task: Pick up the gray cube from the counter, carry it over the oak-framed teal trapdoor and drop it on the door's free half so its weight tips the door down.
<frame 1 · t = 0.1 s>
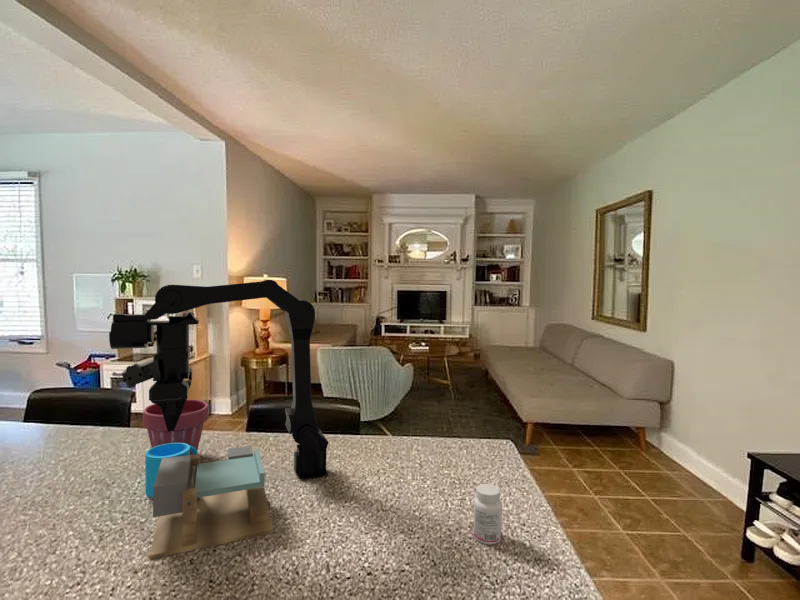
hand: (173, 423, 84), 15 cm above the countertop, fingers open, 9 cm apart
pill bottle: (487, 538, 72), on the countertop
gray cube: (240, 472, 95), on the countertop
mug: (175, 485, 89), on the countertop
trapdoor: (211, 477, 76), point 8 cm above the countertop, hinge at 0.0°
plant pot: (176, 458, 102), on the countertop
frame: (192, 521, 75), on the countertop
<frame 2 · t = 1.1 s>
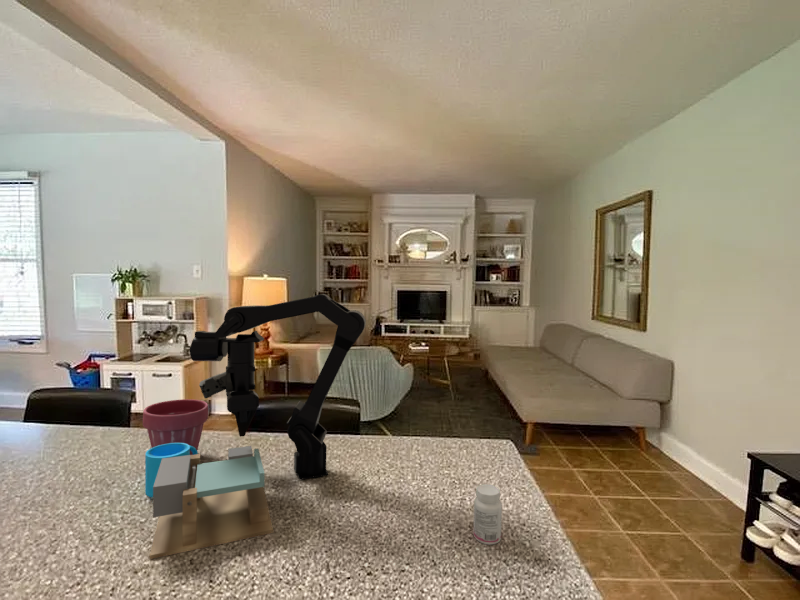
hand: (241, 429, 95), 10 cm above the countertop, fingers open, 9 cm apart
nothing on the countertop moved.
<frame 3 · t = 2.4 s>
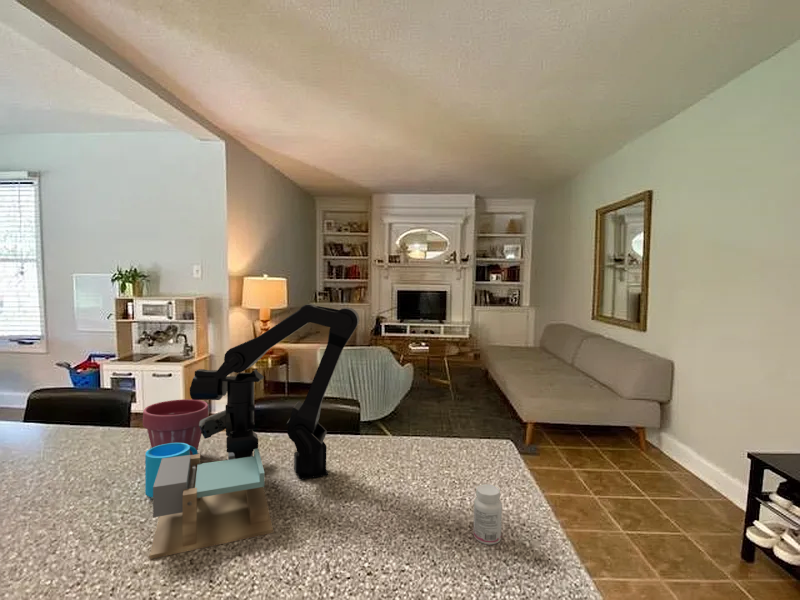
hand: (240, 467, 95), 1 cm above the countertop, fingers closed on gray cube, 5 cm apart
gray cube: (240, 472, 95), on the countertop, touching gripper
everything else where it was.
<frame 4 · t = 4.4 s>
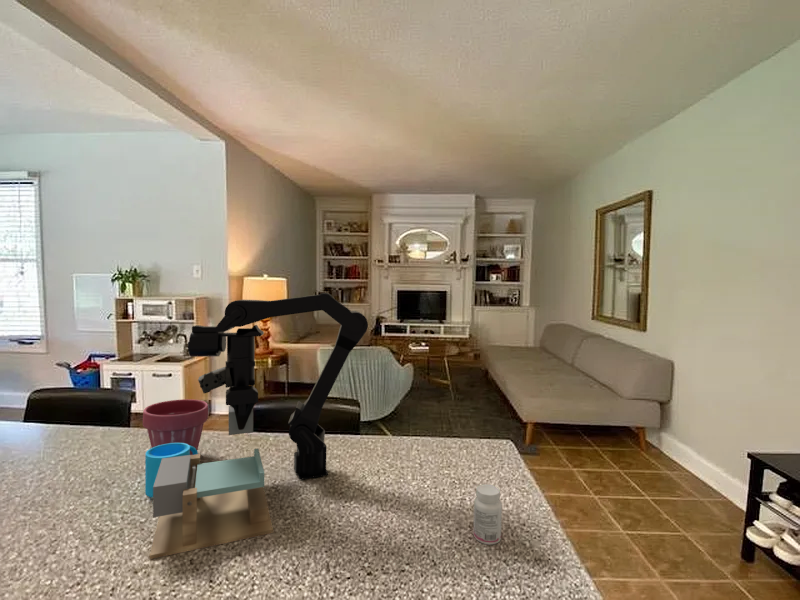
hand: (240, 425, 93), 11 cm above the countertop, fingers closed on gray cube, 5 cm apart
gray cube: (240, 430, 93), point 10 cm above the countertop, touching gripper
everything else where it was.
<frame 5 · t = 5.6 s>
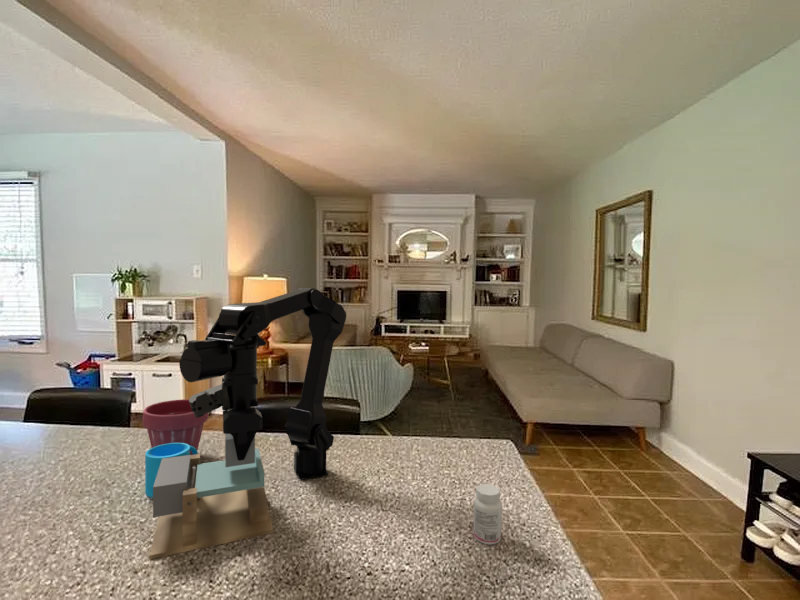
hand: (240, 454, 78), 11 cm above the countertop, fingers closed on gray cube, 5 cm apart
gray cube: (239, 459, 78), point 10 cm above the countertop, touching gripper
everything else where it was.
when the fingers open (11 cm above the countertop, at t = 6.0 s): gray cube drops 5 cm, resting on trapdoor.
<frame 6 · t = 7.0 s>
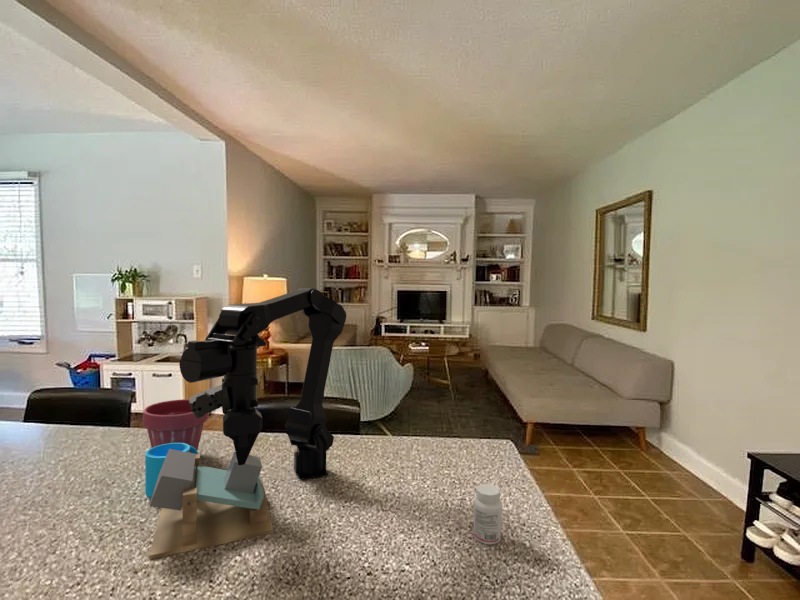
hand: (240, 454, 78), 11 cm above the countertop, fingers open, 9 cm apart
gray cube: (238, 485, 78), point 5 cm above the countertop, tilted 20°, touching trapdoor
trapdoor: (210, 483, 76), point 6 cm above the countertop, hinge at -20.0°, touching frame, gray cube
everything else where it was.
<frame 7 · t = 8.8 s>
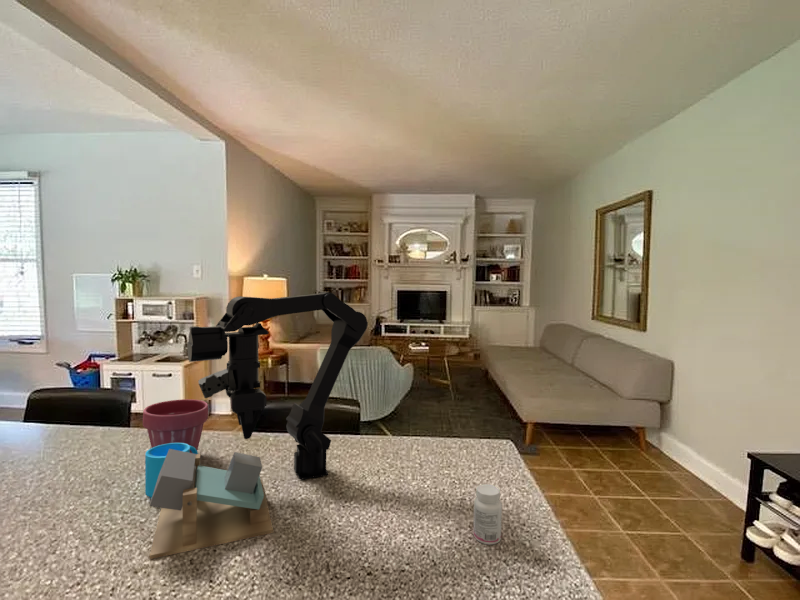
hand: (244, 431, 87), 12 cm above the countertop, fingers open, 9 cm apart
nothing on the countertop moved.
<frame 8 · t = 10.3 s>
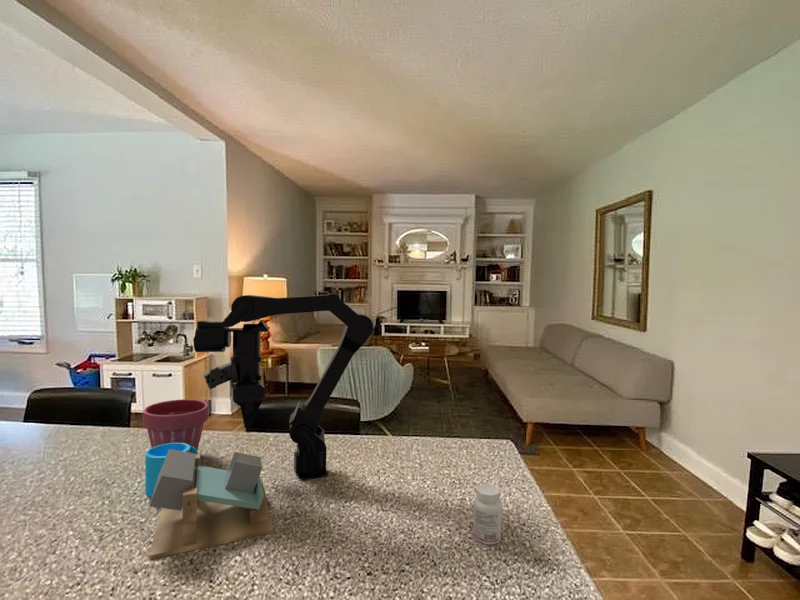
hand: (246, 421, 92), 13 cm above the countertop, fingers open, 9 cm apart
nothing on the countertop moved.
at the end: gray cube point 5.2 cm above the countertop; trapdoor at -20° (first picture: +0°); the gripper is holding nothing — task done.
